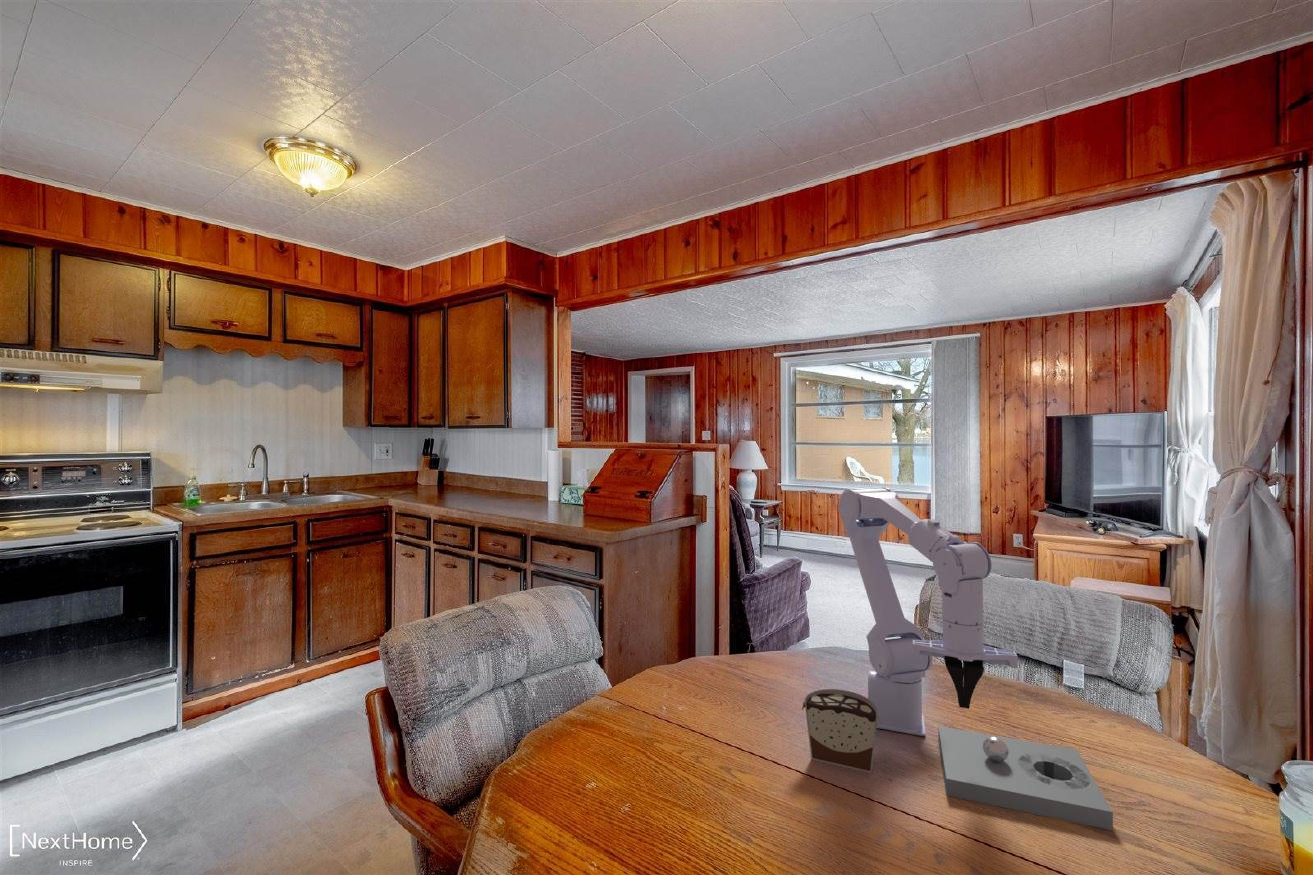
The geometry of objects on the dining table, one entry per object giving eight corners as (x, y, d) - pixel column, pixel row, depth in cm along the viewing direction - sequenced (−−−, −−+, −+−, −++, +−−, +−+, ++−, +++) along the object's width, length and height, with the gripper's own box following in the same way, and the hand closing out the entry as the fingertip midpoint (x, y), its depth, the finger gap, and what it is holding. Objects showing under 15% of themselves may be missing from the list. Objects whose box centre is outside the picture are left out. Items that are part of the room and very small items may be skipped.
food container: (883, 754, 94) (883, 695, 94) (881, 775, 89) (881, 712, 89) (808, 738, 99) (808, 682, 99) (802, 757, 94) (801, 697, 94)
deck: (946, 795, 84) (946, 778, 84) (938, 740, 98) (938, 726, 98) (1112, 830, 76) (1112, 812, 76) (1077, 765, 91) (1076, 749, 91)
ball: (984, 763, 87) (984, 741, 87) (981, 751, 90) (981, 730, 90) (1010, 768, 86) (1010, 745, 86) (1006, 756, 89) (1006, 734, 89)
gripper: (913, 622, 89) (914, 708, 89) (1021, 633, 83) (1022, 725, 83) (911, 609, 95) (912, 689, 95) (1011, 619, 89) (1013, 704, 90)
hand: (963, 705), depth 90 cm, fingers closed
